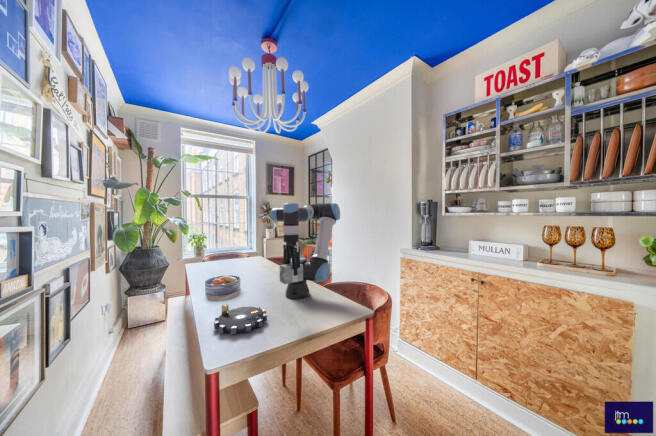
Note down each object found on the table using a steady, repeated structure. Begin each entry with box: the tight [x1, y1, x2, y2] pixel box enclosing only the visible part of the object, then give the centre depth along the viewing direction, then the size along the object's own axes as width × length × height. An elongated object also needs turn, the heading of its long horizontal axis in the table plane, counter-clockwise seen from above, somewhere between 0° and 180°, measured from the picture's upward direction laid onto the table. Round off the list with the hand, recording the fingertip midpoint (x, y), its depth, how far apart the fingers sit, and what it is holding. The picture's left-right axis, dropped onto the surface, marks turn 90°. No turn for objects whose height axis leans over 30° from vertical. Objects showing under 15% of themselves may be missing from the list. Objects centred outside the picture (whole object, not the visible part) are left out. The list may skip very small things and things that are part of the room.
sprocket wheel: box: [213, 303, 268, 335], centre depth 107 cm, size 23×23×7 cm
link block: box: [279, 264, 303, 285], centre depth 113 cm, size 6×10×8 cm, turn 127°
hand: (291, 280), depth 113 cm, fingers closed on link block, 6 cm apart
